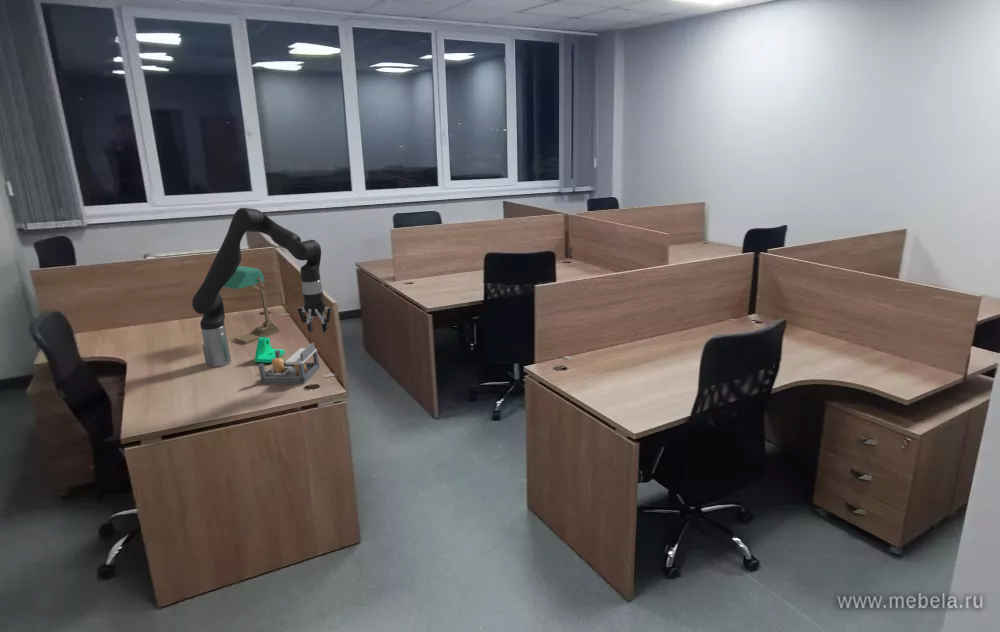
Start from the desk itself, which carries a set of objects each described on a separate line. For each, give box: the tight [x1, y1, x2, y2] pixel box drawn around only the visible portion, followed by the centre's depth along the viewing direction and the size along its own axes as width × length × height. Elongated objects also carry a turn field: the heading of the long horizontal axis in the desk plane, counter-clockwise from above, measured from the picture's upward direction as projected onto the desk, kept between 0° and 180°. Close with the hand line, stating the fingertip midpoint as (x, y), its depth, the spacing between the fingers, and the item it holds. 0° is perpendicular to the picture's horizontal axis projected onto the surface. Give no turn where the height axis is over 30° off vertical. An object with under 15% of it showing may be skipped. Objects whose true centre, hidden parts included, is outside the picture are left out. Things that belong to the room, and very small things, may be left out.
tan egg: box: [271, 357, 285, 373], centre depth 241 cm, size 4×4×6 cm
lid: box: [284, 342, 318, 365], centre depth 238 cm, size 7×15×4 cm, turn 175°
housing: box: [258, 350, 320, 385], centre depth 241 cm, size 18×16×8 cm
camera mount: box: [254, 337, 286, 364], centre depth 258 cm, size 12×8×10 cm, turn 168°
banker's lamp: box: [222, 265, 280, 345], centre depth 282 cm, size 16×21×35 cm
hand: (318, 331), depth 234 cm, fingers open, 5 cm apart
